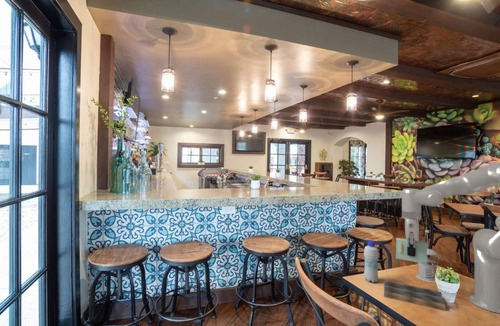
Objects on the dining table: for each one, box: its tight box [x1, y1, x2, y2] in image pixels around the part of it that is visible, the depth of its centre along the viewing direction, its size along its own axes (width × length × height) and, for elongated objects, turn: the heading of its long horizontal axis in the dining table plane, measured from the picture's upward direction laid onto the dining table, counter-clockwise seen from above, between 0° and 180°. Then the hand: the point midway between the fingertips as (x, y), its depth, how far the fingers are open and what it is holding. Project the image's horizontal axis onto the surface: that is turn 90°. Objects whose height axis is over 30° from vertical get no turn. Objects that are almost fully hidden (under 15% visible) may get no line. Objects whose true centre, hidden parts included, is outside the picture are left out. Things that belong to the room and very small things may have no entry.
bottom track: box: [383, 279, 447, 311], centre depth 112 cm, size 22×12×4 cm, turn 61°
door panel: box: [395, 237, 427, 264], centre depth 117 cm, size 12×4×9 cm, turn 59°
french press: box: [415, 229, 439, 284], centre depth 131 cm, size 10×12×25 cm
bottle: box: [363, 240, 379, 284], centre depth 127 cm, size 7×7×20 cm
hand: (411, 254), depth 117 cm, fingers closed on door panel, 3 cm apart
